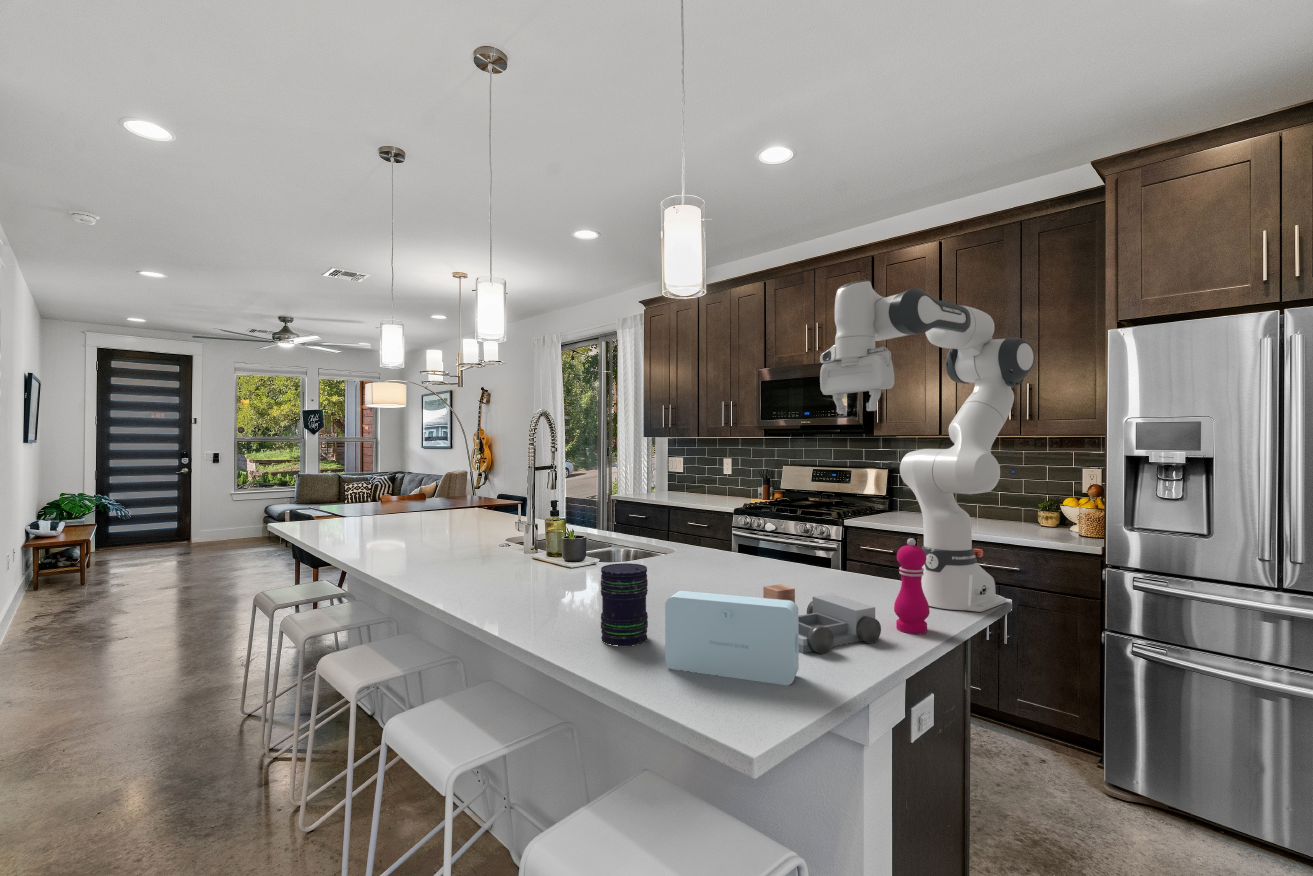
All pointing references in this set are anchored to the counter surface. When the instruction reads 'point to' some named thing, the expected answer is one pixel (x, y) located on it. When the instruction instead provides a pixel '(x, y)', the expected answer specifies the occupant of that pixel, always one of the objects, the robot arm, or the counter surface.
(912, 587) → the pepper mill
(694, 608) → the light blue box
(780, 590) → the brown rectangular block
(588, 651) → the counter surface
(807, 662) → the counter surface
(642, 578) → the storage jar
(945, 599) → the robot arm
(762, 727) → the counter surface
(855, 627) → the chassis
